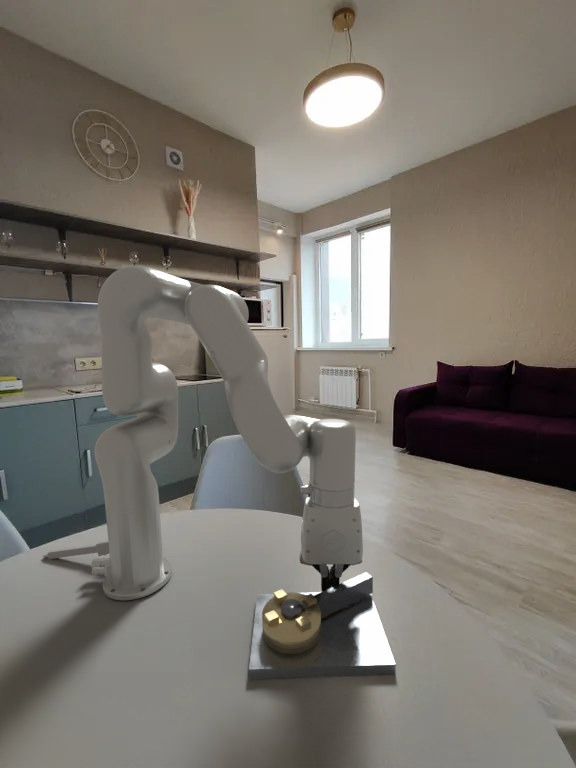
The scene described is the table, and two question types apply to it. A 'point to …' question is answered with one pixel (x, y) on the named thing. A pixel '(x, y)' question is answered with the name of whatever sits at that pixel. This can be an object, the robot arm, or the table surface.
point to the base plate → (327, 646)
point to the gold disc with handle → (307, 613)
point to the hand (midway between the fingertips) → (330, 594)
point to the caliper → (80, 551)
